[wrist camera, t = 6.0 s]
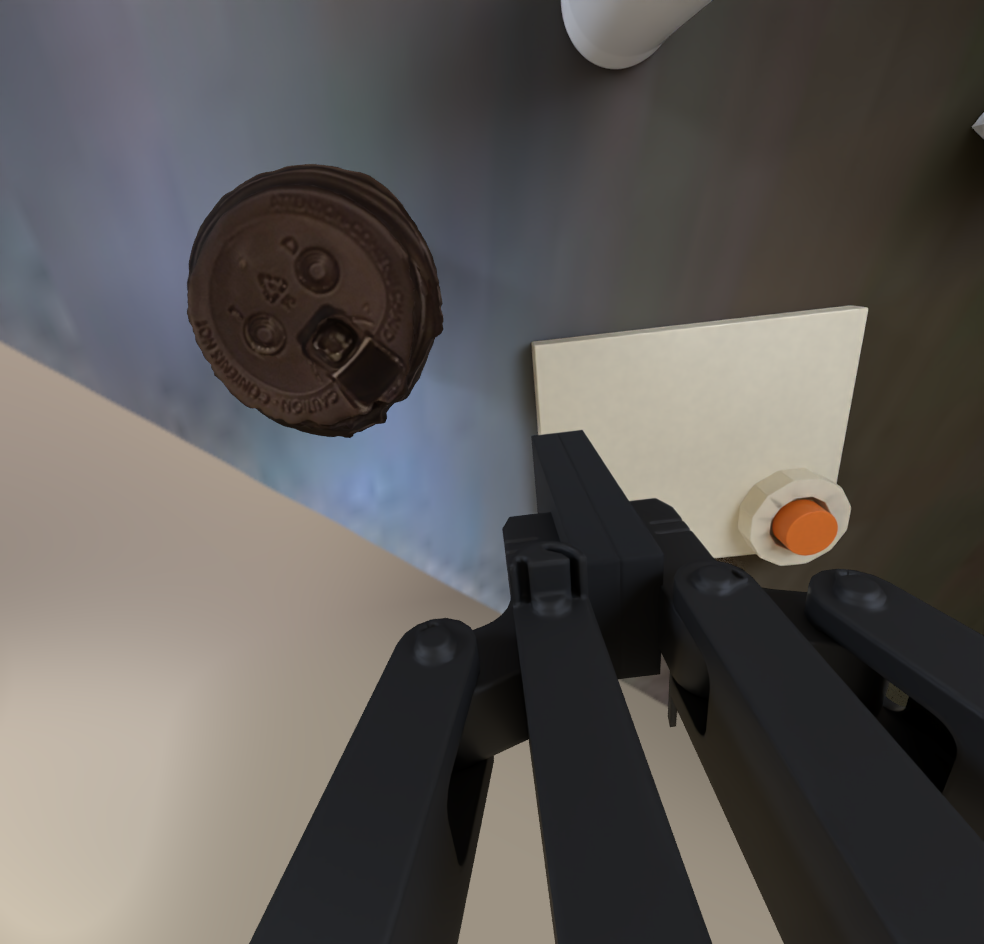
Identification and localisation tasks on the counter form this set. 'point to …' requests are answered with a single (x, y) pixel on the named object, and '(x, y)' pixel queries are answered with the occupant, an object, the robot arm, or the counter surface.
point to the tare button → (804, 527)
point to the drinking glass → (624, 27)
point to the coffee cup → (314, 298)
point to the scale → (715, 417)
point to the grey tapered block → (979, 126)
